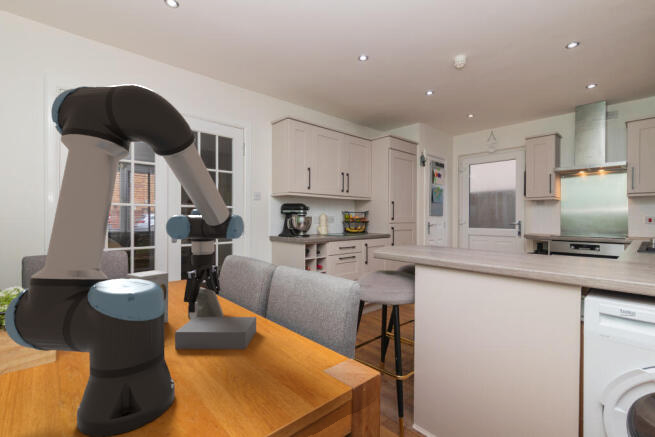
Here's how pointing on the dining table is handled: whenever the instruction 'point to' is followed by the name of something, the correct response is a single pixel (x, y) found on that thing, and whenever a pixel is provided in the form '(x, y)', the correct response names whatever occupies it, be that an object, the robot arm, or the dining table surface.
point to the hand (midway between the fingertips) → (203, 316)
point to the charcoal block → (216, 333)
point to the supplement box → (155, 277)
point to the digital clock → (208, 304)
